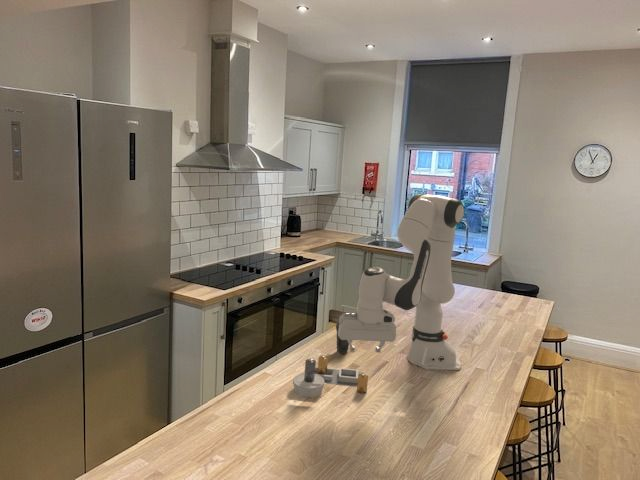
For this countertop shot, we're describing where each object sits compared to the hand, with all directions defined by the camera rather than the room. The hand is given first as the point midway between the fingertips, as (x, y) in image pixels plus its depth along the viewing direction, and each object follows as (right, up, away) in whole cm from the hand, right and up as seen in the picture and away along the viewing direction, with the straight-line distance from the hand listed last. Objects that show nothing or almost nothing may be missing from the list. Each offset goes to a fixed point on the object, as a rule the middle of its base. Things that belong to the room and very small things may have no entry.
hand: (364, 351), depth 166 cm
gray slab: (-10, -14, +13) cm, 21 cm away
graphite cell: (-20, -10, 0) cm, 22 cm away
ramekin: (-20, -15, +1) cm, 25 cm away
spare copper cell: (-15, -12, +13) cm, 23 cm away
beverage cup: (-6, -9, +38) cm, 40 cm away
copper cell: (-1, -16, +3) cm, 16 cm away
